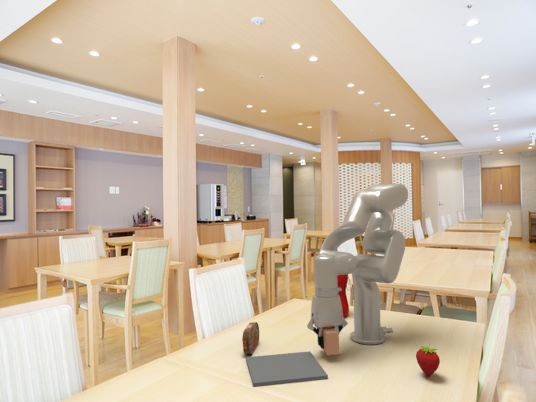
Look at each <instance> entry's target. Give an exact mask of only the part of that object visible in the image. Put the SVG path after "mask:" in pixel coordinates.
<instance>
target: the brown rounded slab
mask: <svg viewBox="0 0 536 402" xmlns="http://www.w3.org/2000/svg"><path fill="white" fill-rule="evenodd" d="M241 339H242V340H241V341H242V349H243V353H244V354H245V355H253V354H254V353H255V351H256V349H257V348H258V346H259V343H260V326H259V323H258V322H257V321H255V322H254V321H252V322H249V323H248V324H247V325H246V327H245V329H244V330H243V332H242V337H241Z"/></svg>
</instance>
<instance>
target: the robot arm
mask: <svg viewBox="0 0 536 402" xmlns="http://www.w3.org/2000/svg"><path fill="white" fill-rule="evenodd" d="M408 198H409V190H408V189H407V187H406V185H404V184H402V183H387V184H386V183H384V184H383V183H382V184H381V183H380V184H372V185H369V186H368V187H367V188H365V189H362V190H359V191H357V192H355V193H354V195H353V197H352V199H351V202H350V204H349V206H348V209H347V212H346V214H345V217H344V219H343V222H342V223H341V224H340V225H338V226H337V227H336V228H334V229H333V230H332V231H331V232H330V233H329V234H328V235H327V236H326V238H325V239H323V242H322V245H321V247H320V249H319V252H318V253H317V255H316V256H315V257H314V259H313V269H314V273H313V274H314V295H312V299H311V307H310V310H311V311H310V320H309V321H308V323H307V326H306V327H307V329H308V330H310V331H312V332H314V333H315V334H316V336H317V344H318V346H319V347H320V348H321V349H322V350H323V348H324V338H323V336H322V332H323V327H332V326H333V327H334V328H335V329H336V330H337V331H338V332H339V334H340V333H341V332H342V330H343V329H344V328H345V327H346V326H347V325H348V321H347V319H345V317H343V311H342V304H341V300H340V296H339V295H338V292H340V291H342V289H341V287H338V284H337V276H338V275H347V274H348V275H351V278H352V285H353V322H354V323H353V325H354V326H353V327H354V331H352V332H351V333H350V336H349V337H350V339H351V340H352V341H353V342H354V343H358V344H362V345H379V344H382V343H384V342H385V341H386V336H385V335H386V334H393V333H394V329H393V327H387V326H382V325H381V291H380V288H379V286H378V284H377V283H380V284H393V283H395V281H396V279H397V278H398V274H399V272H400V267H401V265H402V262H403V257H404V253H405V251H406V238H405V236H404V234H403V233H402V232H401V231H399V230H396V229H391V227H392V224H393V223H392V222H393V221H392V220H393V219H392V216H391V214H390V213H389V212H392V211H395V210H396V209H398V208H401V207H403V206H404V205H405V204H406V202H407V201H408ZM361 235H364V236H363V239H362V243H361V244H362V249H363V250H364V251H365V252H367V253H361V254H357V255H354V254H352V253H350V252H346V251H339V250H338V248H340V246H341V245H342V244H344V243H345V242H348V241H350V240H352V239H355V238H358V237H360V236H361ZM368 253H369V254H368ZM382 255H383V256H382Z"/></svg>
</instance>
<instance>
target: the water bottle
mask: <svg viewBox="0 0 536 402" xmlns="http://www.w3.org/2000/svg"><path fill="white" fill-rule="evenodd" d="M348 281H349V283H351V280H350V277H349V274H347V275H338V276H337V284H338V287H341V289H342V291H340V292H338V295H339V296H340V300H341V304H342V311H343V317H344V318H345V317H347V316H349V312H350V309H349V308H350V305H349V301H348V297H347V291H349V292H350V289H351V288H352V287H351V284H349V289H348V285H347V284H348Z"/></svg>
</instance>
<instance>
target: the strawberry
mask: <svg viewBox="0 0 536 402" xmlns="http://www.w3.org/2000/svg"><path fill="white" fill-rule="evenodd" d="M430 345H431V343H429V345H428V346H422V345H421V348H419V349H418V350H417V351H416V353H415V358H416V363H417V364H418V366H419V368H420V370H421V371H422V372H423V374H424V376H426V377H427V378H430V377H431V376H432V375H433V374H434V373H435V372H436V371H437V370H438V369H439V368H440V362H441V359H440V356H439V355H438V352H437V351H438V350H439V349H437V348H430Z"/></svg>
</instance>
